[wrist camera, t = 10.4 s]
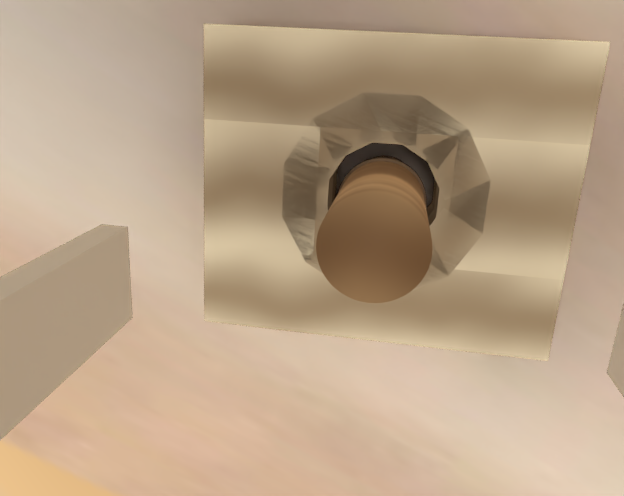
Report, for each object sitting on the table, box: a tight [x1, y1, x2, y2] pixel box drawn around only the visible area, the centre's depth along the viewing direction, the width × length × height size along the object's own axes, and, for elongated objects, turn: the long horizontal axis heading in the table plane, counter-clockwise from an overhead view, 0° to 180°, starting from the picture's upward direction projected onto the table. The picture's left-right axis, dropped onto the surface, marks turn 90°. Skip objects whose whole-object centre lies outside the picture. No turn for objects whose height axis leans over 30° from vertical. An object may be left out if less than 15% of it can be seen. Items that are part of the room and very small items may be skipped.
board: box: [204, 24, 610, 361], centre depth 31 cm, size 16×19×4 cm
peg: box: [316, 156, 433, 303], centre depth 27 cm, size 4×4×13 cm
